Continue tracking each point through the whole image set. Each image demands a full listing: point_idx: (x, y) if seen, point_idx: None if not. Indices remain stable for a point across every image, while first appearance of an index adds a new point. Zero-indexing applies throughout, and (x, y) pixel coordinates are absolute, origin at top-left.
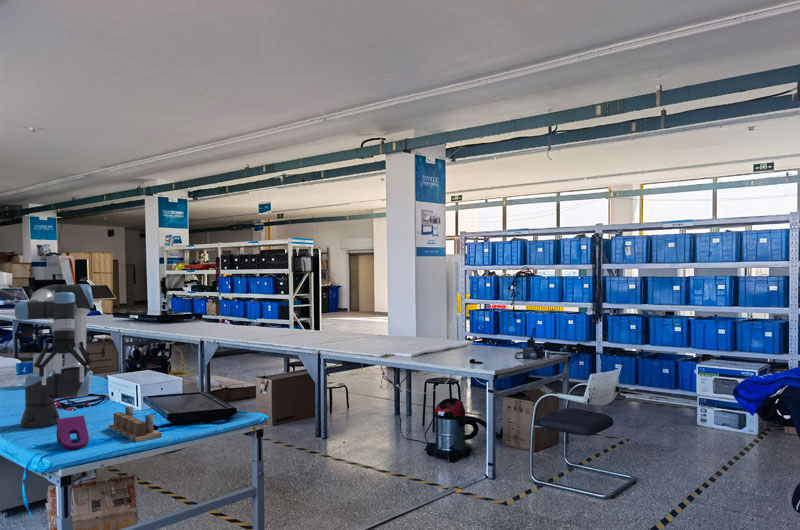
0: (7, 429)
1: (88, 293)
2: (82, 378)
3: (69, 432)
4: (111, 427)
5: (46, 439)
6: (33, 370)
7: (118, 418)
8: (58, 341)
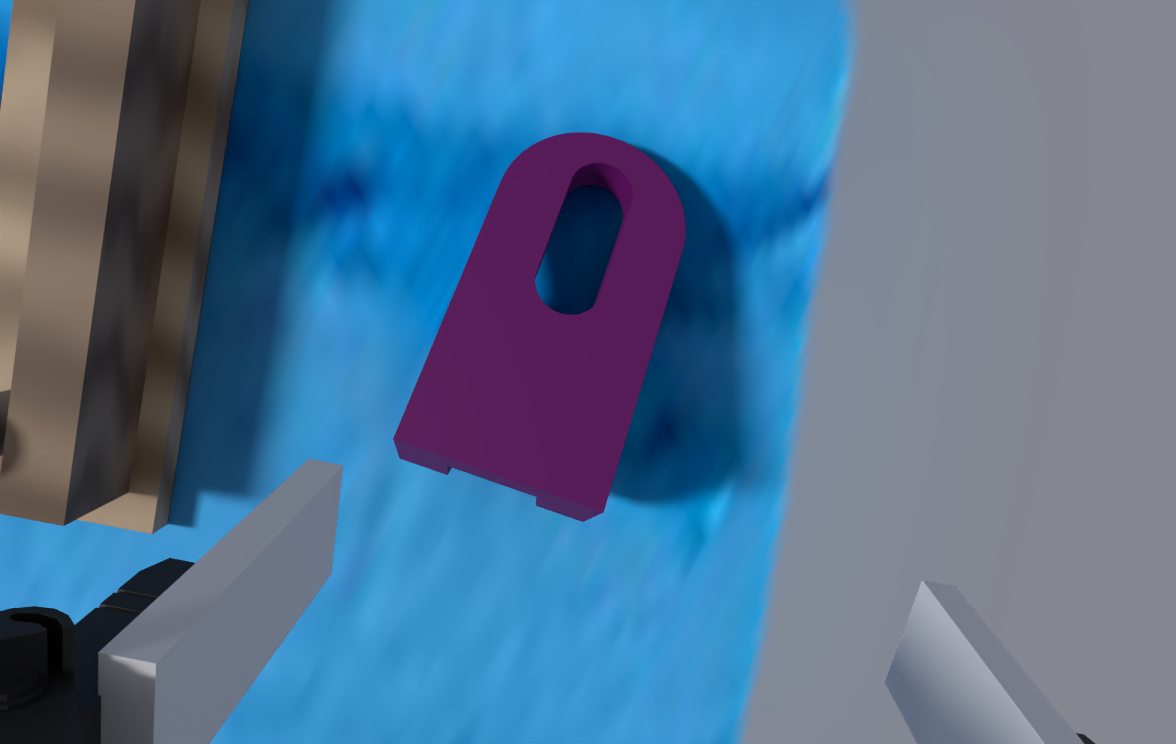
0: None
1: None
2: (306, 490)
3: (590, 311)
4: (169, 462)
5: (586, 608)
6: None
7: (99, 397)
8: None
